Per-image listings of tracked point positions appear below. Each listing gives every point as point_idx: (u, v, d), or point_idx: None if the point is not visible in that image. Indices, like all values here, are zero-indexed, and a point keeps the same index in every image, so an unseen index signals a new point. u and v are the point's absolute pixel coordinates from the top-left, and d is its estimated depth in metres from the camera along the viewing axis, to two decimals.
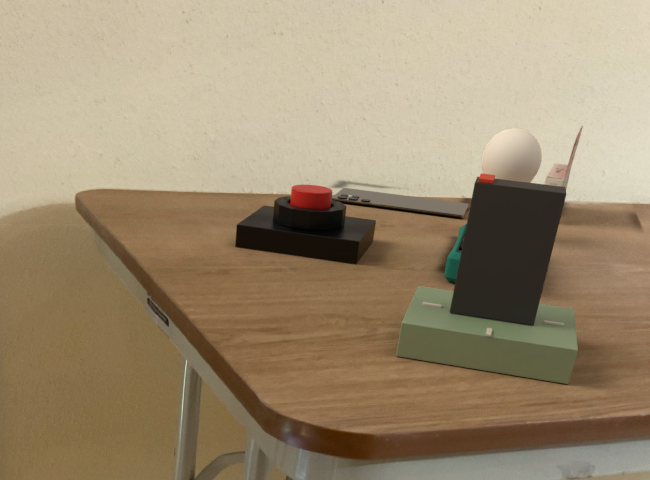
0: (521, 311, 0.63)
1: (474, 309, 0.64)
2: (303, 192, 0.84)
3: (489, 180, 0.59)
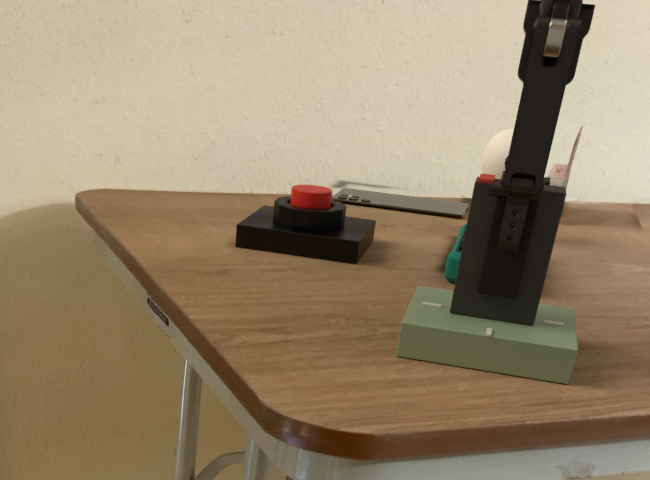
0: (521, 311, 0.63)
1: (474, 309, 0.64)
2: (303, 192, 0.84)
3: (489, 180, 0.59)
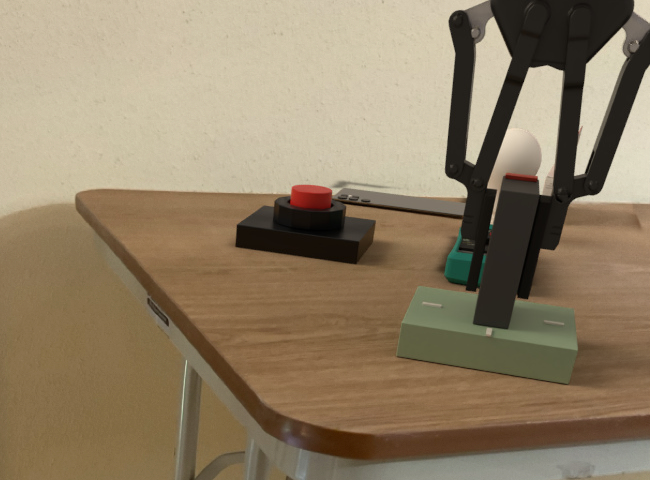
0: None
1: None
2: (303, 192, 0.84)
3: None
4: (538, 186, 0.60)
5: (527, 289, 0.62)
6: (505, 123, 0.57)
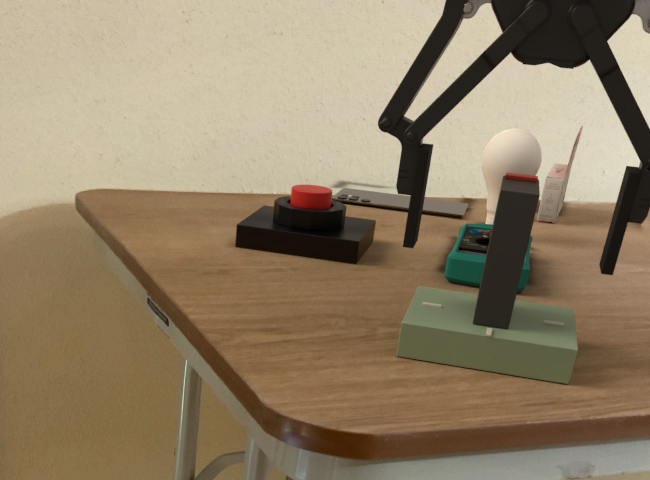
0: None
1: None
2: (303, 192, 0.84)
3: None
4: (538, 186, 0.60)
5: (612, 264, 0.60)
6: (461, 95, 0.57)
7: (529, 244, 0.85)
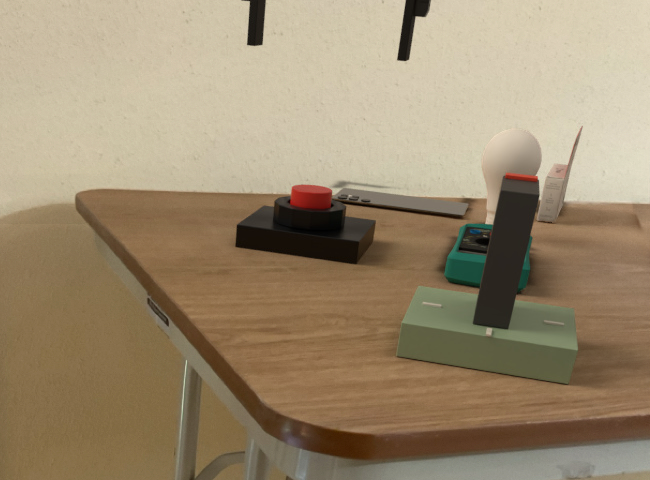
0: None
1: None
2: (303, 192, 0.84)
3: None
4: (538, 186, 0.60)
5: (404, 52, 0.76)
6: None
7: (529, 244, 0.85)
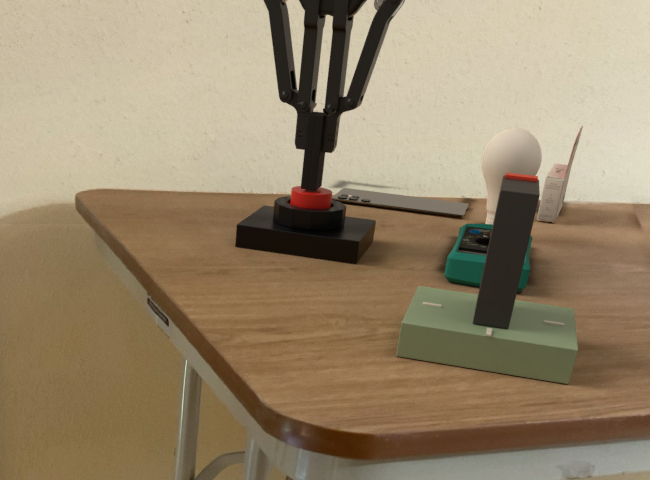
0: None
1: None
2: (303, 193, 0.85)
3: None
4: (538, 186, 0.60)
5: (314, 182, 0.84)
6: (312, 58, 0.79)
7: (529, 244, 0.85)
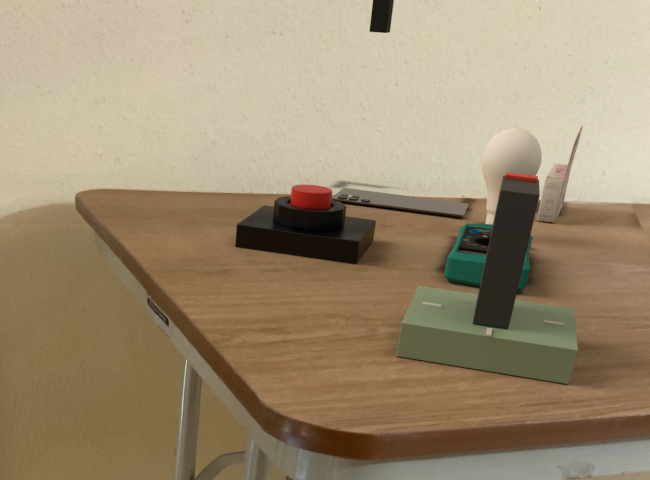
0: None
1: None
2: (303, 192, 0.84)
3: None
4: (538, 186, 0.60)
5: (384, 24, 0.79)
6: None
7: (529, 244, 0.85)
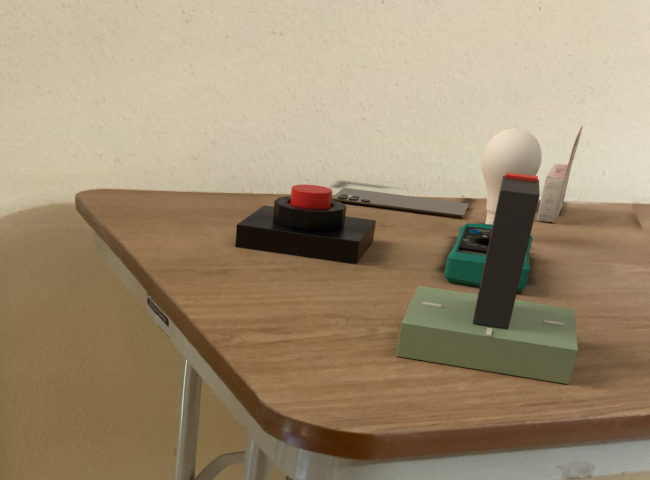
0: None
1: None
2: (303, 192, 0.84)
3: None
4: (538, 186, 0.60)
5: None
6: None
7: (529, 244, 0.85)
